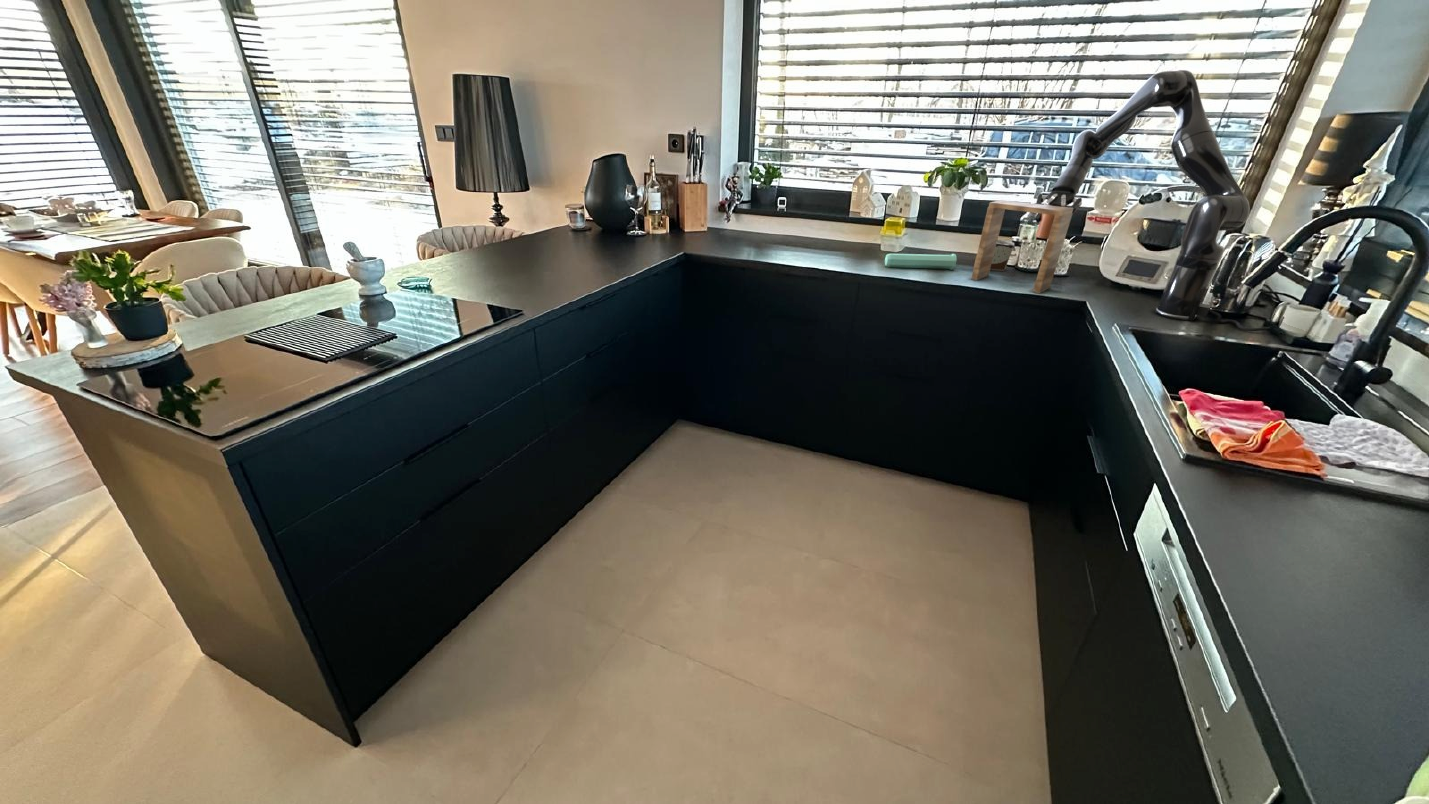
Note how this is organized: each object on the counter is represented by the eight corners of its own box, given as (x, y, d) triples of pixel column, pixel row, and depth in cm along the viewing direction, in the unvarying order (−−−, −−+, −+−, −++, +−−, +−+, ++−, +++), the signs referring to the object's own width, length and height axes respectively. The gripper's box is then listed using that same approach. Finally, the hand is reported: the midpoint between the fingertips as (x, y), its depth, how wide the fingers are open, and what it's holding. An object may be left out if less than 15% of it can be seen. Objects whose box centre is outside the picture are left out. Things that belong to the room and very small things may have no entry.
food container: (1002, 266, 211) (1009, 239, 207) (1008, 270, 206) (1016, 243, 201) (969, 265, 212) (975, 238, 208) (974, 269, 207) (981, 241, 202)
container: (887, 250, 203) (957, 252, 201) (883, 253, 209) (951, 255, 207) (886, 267, 204) (956, 268, 202) (882, 269, 210) (950, 271, 208)
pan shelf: (1049, 288, 186) (1074, 208, 174) (1039, 293, 179) (1063, 210, 168) (982, 274, 200) (1001, 199, 188) (970, 279, 193) (989, 202, 182)
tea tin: (1054, 237, 192) (1062, 210, 188) (1049, 239, 189) (1057, 211, 185) (1038, 235, 195) (1046, 208, 191) (1033, 236, 192) (1040, 209, 188)
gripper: (1046, 172, 192) (1023, 212, 190) (1093, 176, 183) (1069, 218, 181) (1047, 188, 198) (1025, 226, 196) (1092, 192, 189) (1069, 232, 187)
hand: (1046, 222), depth 189 cm, fingers closed on tea tin, 5 cm apart
